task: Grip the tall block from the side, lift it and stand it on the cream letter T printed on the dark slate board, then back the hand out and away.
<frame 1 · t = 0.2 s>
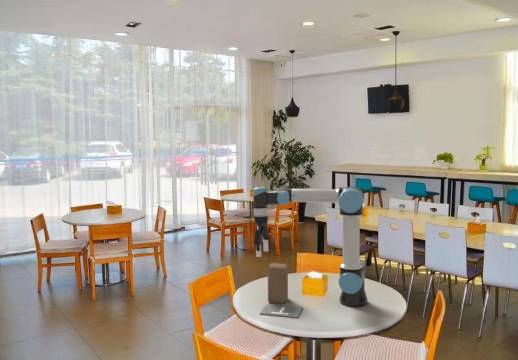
hand: (262, 254, 259), 27 cm above the table, tool pointing down, fingers open, 13 cm apart
letter board: (281, 311, 247), on the table
block: (278, 300, 264), on the table
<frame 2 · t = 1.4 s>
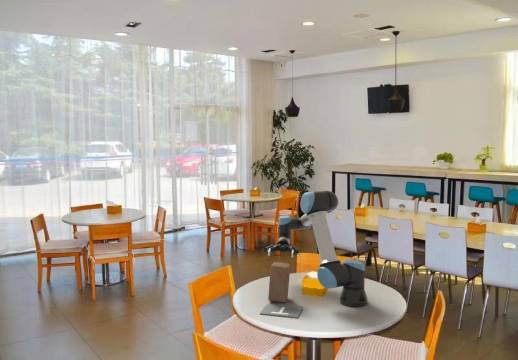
hand: (280, 254, 269), 24 cm above the table, tool horizontal, fingers open, 13 cm apart
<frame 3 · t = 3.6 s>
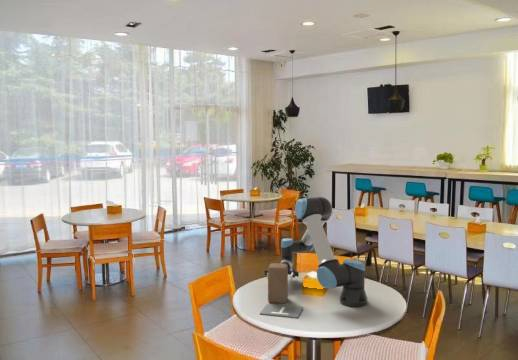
hand: (279, 277, 270), 11 cm above the table, tool horizontal, fingers open, 13 cm apart
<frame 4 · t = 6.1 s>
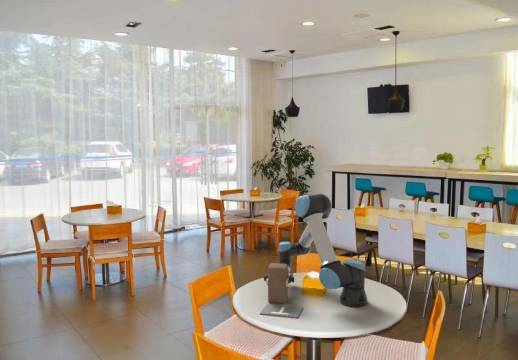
hand: (276, 283, 259), 11 cm above the table, tool horizontal, fingers closed on block, 10 cm apart
block: (278, 300, 264), on the table, touching gripper
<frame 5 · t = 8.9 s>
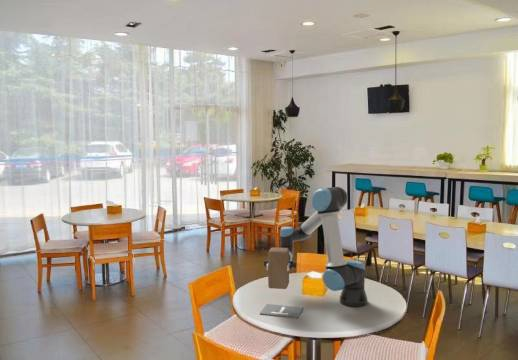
hand: (277, 268, 246), 23 cm above the table, tool horizontal, fingers closed on block, 10 cm apart
block: (278, 286, 251), point 12 cm above the table, touching gripper
when the fingers open (13 cm above the table, at t = 11.8 s): block drops 1 cm, resting on letter board.
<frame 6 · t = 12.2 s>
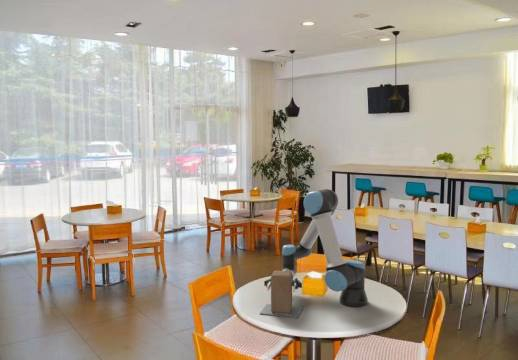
hand: (280, 289, 243), 13 cm above the table, tool horizontal, fingers open, 13 cm apart
block: (281, 310, 247), resting on letter board
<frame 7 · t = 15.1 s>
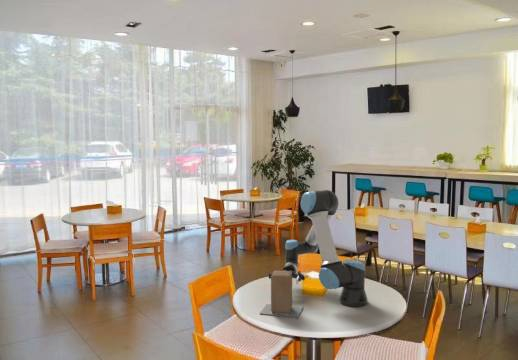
hand: (284, 281, 255), 13 cm above the table, tool horizontal, fingers open, 13 cm apart
nothing on the table moved.
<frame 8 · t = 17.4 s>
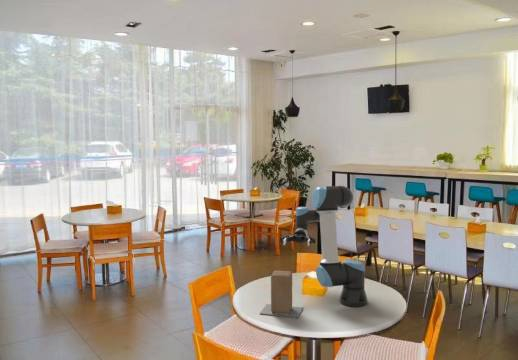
hand: (296, 243, 263), 32 cm above the table, tool horizontal, fingers open, 13 cm apart
nothing on the table moved.
at the end: block inside the target area on the letter board (0.0 cm from its centre), point 0.4 cm above the letter board's base; block tilted 0°; the gripper is holding nothing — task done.
